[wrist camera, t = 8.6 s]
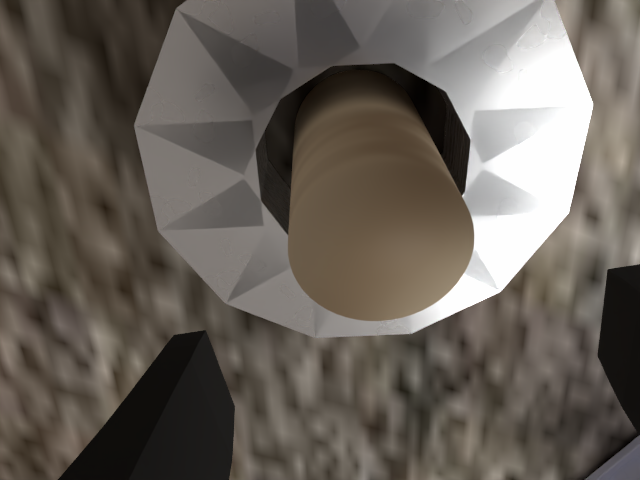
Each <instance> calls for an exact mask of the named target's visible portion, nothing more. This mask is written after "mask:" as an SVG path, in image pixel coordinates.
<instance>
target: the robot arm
mask: <svg viewBox="0 0 640 480" xmlns="http://www.w3.org/2000/svg"><path fill="white" fill-rule="evenodd" d="M598 358H599V360H600V362H601V364H602V366H603V369H604V371H605V373H606V375H607V377H608V379H609V382H610V384H611V386H612V388H613V390H614V392H615V394H616V396H617V398H618V400H619V402H620V404H621V406H622V408H623V410H624V411H625V413H626V414H627V416H628V418H629V419H630V421H631V423H632V424H633V426H634V427H635V429H636V430H637V432H638V434H639V436H638V437H637V438H635V439H634V440H633V441H632V442H630V443H629V444H628V445H627V446H625V447H624V448H623V449H622V450H621V451H619V452H618V453H617V454H616V455H614V456H613V457H612V458H611V459H609V460H608V461H607V462H606V463H605V464H603V465H602V466H601V467H600V468H598V469H597V470H596V471H595V472H593V473H592V474H591V475H590V476H589V477H587V478H586V479H585V480H640V264H639V265H633V266H626V267H620V268H613V269H608V271H607V280H606V288H605V297H604V306H603V314H602V323H601V331H600V340H599V348H598ZM234 412H235V406H234V403H233V401H232V398H231V395H230V393H229V390H228V387H227V385H226V382H225V380H224V377H223V374H222V372H221V369H220V366H219V364H218V361H217V358H216V356H215V353H214V351H213V348H212V345H211V343H210V340H209V337H208V335H207V332H206V330H204V331H198V332H191V333H185V334H178V335H174V336H173V337H172V338H171V340H170V341H169V342H168V343H167V345H166V346H165V347H164V348H163V350H162V351H161V352H160V354H159V355H158V356H157V358H156V359H155V360H154V362H153V363H152V364H151V366H150V367H149V368H148V370H147V371H146V372H145V374H144V375H143V376H142V377H141V379H140V380H139V381H138V383H137V384H136V385H135V387H134V388H133V389H132V391H131V392H130V393H129V395H128V396H127V397H126V398H125V400H124V401H123V402H122V403H121V405H120V406H119V407H118V409H117V410H116V411H115V412H114V414H113V415H112V416H111V417H110V419H109V420H108V421H107V423H106V424H105V425H104V426H103V428H102V429H101V430H100V431H99V432H98V433H97V435H96V436H95V437H94V438H93V439H92V440H91V442H90V443H89V444H88V445H87V446H86V448H85V449H84V450H83V451H82V452H81V453H80V455H79V456H78V457H77V458H76V459H75V460H74V462H73V463H72V464H71V465H70V466H69V467H68V469H67V470H66V471H65V472H64V473H63V474H62V476H61V477H60V478H59V479H58V480H229V476H230V469H231V463H232V454H233V437H234Z"/></svg>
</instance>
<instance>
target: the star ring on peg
mask: <svg viewBox="0 0 640 480" xmlns="http://www.w3.org/2000/svg"><path fill="white" fill-rule="evenodd" d="M384 63H395V64H397V65H399V66H401V67H402V68H404V69H406V70H408V71H410V72H411V73H413V74H415V75H417V76H419V77H420V78H422V79H424V80H426V81H428V82H429V83H431V84H433V85H435V86H437V87H438V89H439V91H440V93H441V95H442V97H443V99H444V101H445V103H446V104H447V108H446V120H445V132H444V144H443V152H442V153H441V157H442V159H443V161H444V163H445V165H446V167H447V169H448V171H449V173H450V175H451V176H452V178H453V180H454V182H455V184H456V186H457V188H458V190H459V192H460V194H461V196H462V198H463V199H464V201H465V203H466V205H467V207H468V210H469V212H470V214H471V217H472V221H473V225H474V234H475V236H474V248H473V253H472V257H471V259H470V262H469V265H468V267H467V269H466V271H465V273H464V274H463V276H462V277H461V279H460V280H459V282H458V283H457V284H456V285H455V286H454V287H453V289H452V290H451V291H450V292H449V293H448V294H446V295H445V296H444V297H443V298H442V299H440V300H439V301H437V302H436V303H435V304H433V305H431V306H430V307H428V308H426V309H424V310H422V311H420V312H417V313H415V314H413V315H409V316H406V317H403V318H398V319H393V320H386V321H363V320H356V319H351V318H347V317H344V316H341V315H338V314H335V313H333V312H331V311H329V310H327V309H325V308H323V307H322V306H320V305H319V304H317V303H316V302H315V301H314V300H312V299H311V298H310V297H309V296H308V295H307V294H306V293H305V292H304V291H303V289H302V288H301V287H300V285H299V284H298V282H297V281H296V279H295V277H294V275H293V273H292V269H291V266H290V263H289V257H288V231H289V214H290V197H291V190H290V188H289V187H288V186H287V184H286V183H285V182H284V180H283V179H282V178H281V176H280V175H279V174H278V172H277V171H276V170H275V168H274V167H273V166H272V164H271V163H270V161H269V160H268V157H267V147H266V137H265V129H266V127H267V125H268V123H269V121H270V119H271V117H272V115H273V113H274V111H275V109H276V107H277V105H278V103H279V101H280V99H281V98H283V97H284V96H286V95H288V94H289V93H291V92H292V91H294V90H295V89H297V88H298V87H300V86H301V85H303V84H305V83H306V82H308V81H309V80H311V79H312V78H314V77H315V76H317V75H319V74H320V73H322V72H323V71H325V70H326V69H328V68H329V67H331V66H341V65H363V64H384ZM592 108H593V102H592V100H591V97H590V94H589V92H588V89H587V86H586V84H585V81H584V78H583V76H582V73H581V70H580V68H579V65H578V62H577V60H576V57H575V54H574V52H573V49H572V46H571V44H570V41H569V38H568V35H567V33H566V30H565V27H564V25H563V22H562V19H561V17H560V14H559V11H558V9H557V6H556V3H555V1H554V0H186V1H185V2H183V3H182V4H181V5H180V6H178V7H177V8H176V10H175V13H174V15H173V18H172V21H171V24H170V27H169V29H168V32H167V35H166V38H165V40H164V43H163V46H162V49H161V52H160V54H159V57H158V60H157V63H156V65H155V68H154V71H153V74H152V76H151V79H150V82H149V85H148V88H147V90H146V93H145V96H144V99H143V101H142V104H141V107H140V110H139V113H138V115H137V118H136V121H135V124H134V128H135V133H136V137H137V141H138V146H139V150H140V155H141V159H142V163H143V168H144V172H145V176H146V181H147V185H148V189H149V194H150V198H151V203H152V207H153V211H154V216H155V220H156V224H157V229H158V232H159V233H160V234H161V235H162V236H163V237H164V238H165V239H166V240H167V241H168V242H169V243H170V244H171V246H172V247H173V248H174V249H175V250H176V251H177V252H178V253H179V254H180V255H181V256H182V257H183V258H184V260H185V261H186V262H187V263H188V264H189V265H190V266H191V267H192V268H193V269H194V270H195V271H196V273H197V274H198V275H199V276H200V277H201V278H202V279H203V280H204V281H205V282H206V283H207V284H208V285H209V287H210V288H211V289H212V290H213V291H214V292H215V293H216V294H217V295H218V296H219V297H220V298H221V299H222V301H223V302H224V303H226V304H228V305H230V306H233V307H235V308H238V309H241V310H243V311H246V312H248V313H251V314H254V315H256V316H259V317H262V318H264V319H267V320H269V321H272V322H275V323H277V324H280V325H282V326H285V327H288V328H290V329H293V330H295V331H298V332H301V333H303V334H306V335H308V336H311V337H314V338H325V337H348V336H371V335H394V334H412V333H414V332H416V331H418V330H420V329H422V328H424V327H427V326H429V325H431V324H433V323H435V322H437V321H439V320H441V319H444V318H446V317H448V316H450V315H452V314H454V313H456V312H458V311H461V310H463V309H465V308H467V307H469V306H471V305H473V304H475V303H478V302H480V301H482V300H484V299H486V298H488V297H490V296H493V295H495V294H497V293H499V292H501V291H502V290H503V289H504V287H505V286H506V285H507V284H508V283H509V282H510V280H511V279H512V278H513V277H514V276H515V275H516V273H517V272H518V271H519V270H520V269H521V268H522V266H523V265H524V264H525V263H526V262H527V261H528V259H529V258H530V257H531V256H532V255H533V254H534V252H535V251H536V250H537V249H538V248H539V247H540V246H541V244H542V243H543V242H544V241H545V240H546V239H547V237H548V236H549V235H550V234H551V233H552V232H553V230H554V229H555V228H556V227H557V226H558V225H559V223H560V222H561V221H562V220H563V219H564V218H565V216H566V215H567V214H568V212H569V210H570V205H571V201H572V196H573V192H574V187H575V183H576V179H577V174H578V170H579V165H580V161H581V156H582V152H583V148H584V143H585V139H586V134H587V130H588V125H589V121H590V117H591V112H592Z"/></svg>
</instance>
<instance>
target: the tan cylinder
mask: <svg viewBox="0 0 640 480" xmlns="http://www.w3.org/2000/svg"><path fill="white" fill-rule="evenodd" d="M474 236H475V234H474V225H473V221H472V217H471V214H470V212H469V210H468V207H467V205H466V203H465V201H464V199H463V198H462V196H461V194H460V192H459V190H458V188H457V186H456V184H455V182H454V180H453V178H452V176H451V175H450V173H449V171H448V169H447V167H446V165H445V163H444V161H443V159H442V157H441V155H440V154H439V152H438V150H437V148H436V146H435V144H434V142H433V140H432V138H431V136H430V134H429V132H428V131H427V129H426V127H425V125H424V123H423V121H422V119H421V117H420V115H419V113H418V111H417V110H416V108H415V106H414V104H413V102H412V100H411V98H410V97H409V95H408V94H407V92H406V91H405V90H404V89H403V88H402V87H401V86H400V85H399V84H398V83H397V82H396V81H394V80H392V79H391V78H389V77H387V76H385V75H383V74H381V73H377V72H374V71H369V70H348V71H344V72H340V73H337V74H334V75H332V76H330V77H328V78H326V79H324V80H323V81H321V82H320V83H319V84H317V85H316V86H315V87H314V88H313V89H312V90H311V91H310V92H309V93H308V95H307V96H306V97H305V99H304V100H303V102H302V104H301V106H300V108H299V110H298V113H297V116H296V120H295V128H294V145H293V162H292V180H291V197H290V214H289V231H288V257H289V263H290V266H291V269H292V273H293V275H294V277H295V279H296V281H297V282H298V284H299V285H300V287H301V288H302V289H303V291H304V292H305V293H306V294H307V295H308V296H309V297H310V298H311V299H312V300H314V301H315V302H316V303H317V304H319V305H320V306H322V307H323V308H325V309H327V310H329V311H331V312H333V313H335V314H338V315H341V316H344V317H347V318H351V319H356V320H363V321H386V320H393V319H398V318H403V317H406V316H409V315H413V314H415V313H417V312H420V311H422V310H424V309H426V308H428V307H430V306H431V305H433V304H435V303H436V302H437V301H439V300H440V299H442V298H443V297H444V296H445V295H446V294H448V293H449V292H450V291H451V290H452V289H453V287H454V286H455V285H456V284H457V283H458V282H459V280H460V279H461V277H462V276H463V274H464V273H465V271H466V269H467V267H468V265H469V262H470V259H471V257H472V253H473V248H474Z"/></svg>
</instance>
